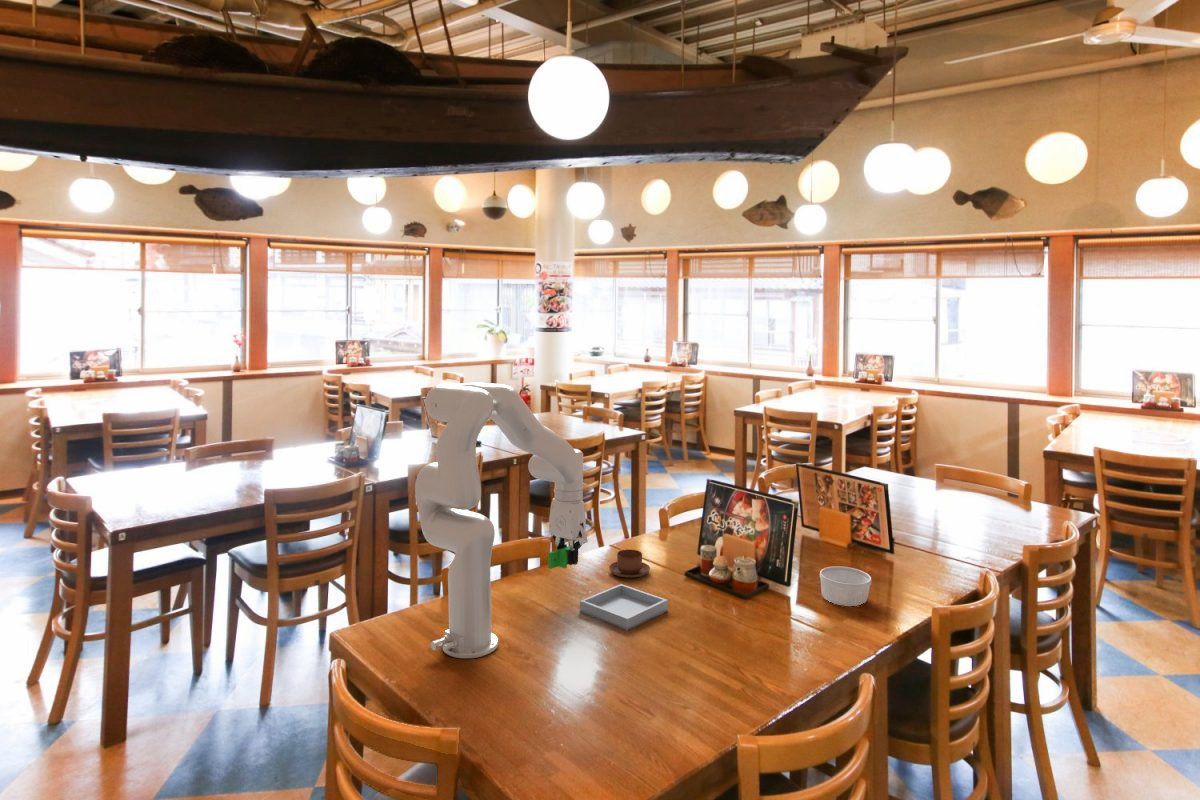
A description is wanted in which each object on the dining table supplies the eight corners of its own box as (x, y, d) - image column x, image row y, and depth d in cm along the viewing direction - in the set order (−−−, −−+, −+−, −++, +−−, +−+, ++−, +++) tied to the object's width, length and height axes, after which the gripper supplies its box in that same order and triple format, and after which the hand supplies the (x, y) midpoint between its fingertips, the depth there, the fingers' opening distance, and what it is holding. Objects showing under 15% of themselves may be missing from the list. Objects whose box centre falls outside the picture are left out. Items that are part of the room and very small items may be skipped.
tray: (627, 630, 174) (627, 618, 174) (579, 612, 185) (580, 600, 185) (667, 611, 186) (667, 599, 186) (620, 594, 197) (620, 583, 196)
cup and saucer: (604, 568, 217) (604, 549, 216) (641, 564, 220) (641, 545, 220) (616, 583, 205) (616, 562, 205) (655, 578, 209) (656, 558, 208)
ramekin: (881, 605, 191) (882, 580, 190) (841, 612, 186) (842, 586, 185) (847, 587, 203) (848, 563, 202) (808, 594, 198) (809, 569, 197)
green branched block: (557, 571, 189) (557, 555, 189) (548, 568, 191) (548, 552, 191) (584, 561, 197) (584, 546, 197) (574, 559, 199) (574, 543, 199)
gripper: (537, 492, 195) (536, 557, 197) (581, 502, 184) (579, 572, 186) (557, 487, 201) (556, 551, 203) (600, 498, 190) (599, 565, 192)
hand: (567, 561), depth 194 cm, fingers closed on green branched block, 3 cm apart
